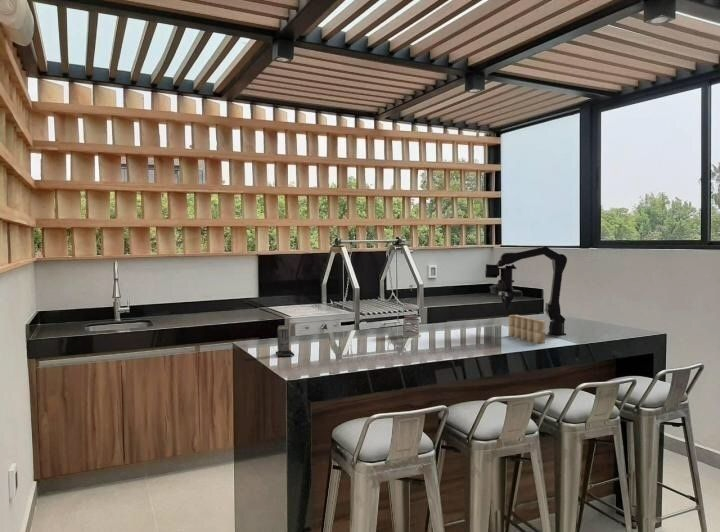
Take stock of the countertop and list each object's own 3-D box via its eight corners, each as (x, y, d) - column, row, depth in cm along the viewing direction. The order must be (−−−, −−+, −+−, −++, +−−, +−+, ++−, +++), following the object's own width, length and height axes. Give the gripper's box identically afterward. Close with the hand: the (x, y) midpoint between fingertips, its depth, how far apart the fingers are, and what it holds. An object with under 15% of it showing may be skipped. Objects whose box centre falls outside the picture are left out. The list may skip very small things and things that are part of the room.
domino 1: (517, 335, 270) (517, 314, 270) (519, 335, 269) (519, 315, 268) (508, 335, 269) (508, 315, 268) (510, 336, 267) (511, 315, 266)
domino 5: (542, 342, 252) (542, 320, 252) (545, 342, 251) (545, 320, 250) (533, 342, 251) (533, 320, 250) (535, 343, 249) (536, 321, 248)
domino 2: (523, 336, 266) (523, 316, 265) (525, 337, 264) (525, 316, 264) (514, 337, 264) (514, 316, 264) (516, 338, 262) (516, 317, 262)
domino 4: (535, 340, 257) (536, 318, 256) (538, 340, 255) (538, 319, 255) (526, 340, 255) (527, 319, 255) (529, 341, 253) (529, 319, 253)
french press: (422, 337, 264) (422, 285, 262) (397, 337, 264) (397, 285, 263) (420, 334, 274) (420, 283, 272) (396, 334, 274) (397, 283, 273)
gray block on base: (272, 354, 228) (271, 324, 227) (290, 352, 231) (289, 323, 231) (279, 358, 219) (279, 328, 219) (298, 356, 223) (297, 326, 222)
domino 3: (529, 338, 261) (529, 317, 261) (531, 339, 260) (532, 317, 259) (520, 339, 260) (520, 318, 259) (522, 339, 258) (523, 318, 257)
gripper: (482, 277, 280) (481, 307, 281) (503, 279, 262) (502, 312, 263) (500, 276, 284) (500, 306, 284) (523, 279, 266) (522, 311, 267)
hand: (505, 309), depth 275 cm, fingers closed
